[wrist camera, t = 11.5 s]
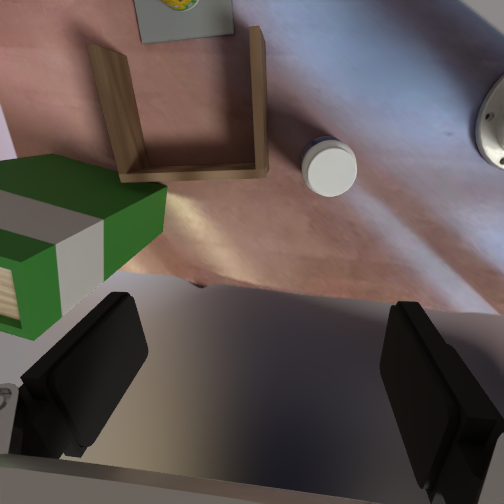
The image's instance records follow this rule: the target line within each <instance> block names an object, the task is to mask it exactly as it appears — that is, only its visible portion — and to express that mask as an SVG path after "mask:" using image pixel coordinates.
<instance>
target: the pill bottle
mask: <svg viewBox="0 0 504 504" xmlns="http://www.w3.org/2000/svg"><path fill="white" fill-rule="evenodd" d="M301 169H302V176H303V179H304V181H305V183H306V185H307V186H308V187H309V188H310V189H311V190H312V191H314V192H316V193H318V194H320V195H323V196H327V197H331V196H337V195H340V194H342V193H344V192H345V191H347V190H348V189H349V188H350V187H351V185H352V184H353V182H354V180H355V178H356V174H357V166H356V158H355V155H354V153H353V151H352V150H351V148H350V147H349V146H348V145H346V144H345V143H343V142H341V141H340V140H338V139H336V138H334V137H331V136H321V137H318V138H316V139H314V140H312V141H311V142H310V143H309V144H308V145H307V146H306V147H305V149H304V150H303V153H302V156H301Z"/></svg>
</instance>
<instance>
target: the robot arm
mask: <svg viewBox="0 0 504 504" xmlns="http://www.w3.org/2000/svg"><path fill="white" fill-rule="evenodd" d="M486 115H487V118H486V119H485V117H486ZM475 136H476V143H477V146H478V149H479V151H480V153H481V154H482V156H483V158H484V159H485V160H486V161H487V162H489V163H490V164H491V165H492V166H494V167H496V168H498V169H501V170H504V74H503V75H502V76H501V77H500V78H499V79H498V80H497V82H496V83H495V84H494V85H493V87H492V88H491V89H490V91H489V92H488V94H487V95H486V97H485V99H484V101H483V103H482V105H481V107H480V110H479V113H478V116H477V120H476V128H475ZM500 159H501V160H500ZM147 356H148V347H147V342H146V339H145V335H144V332H143V328H142V325H141V321H140V318H139V314H138V311H137V307H136V304H135V300H134V298H133V297H132V296H130V294H129V293H127V292H111V293H110V294H109V295H107V296H106V297H105V298H104V299H103V300H102V301H101V302H100V303H99V304H98V305H97V306H96V307H95V308H94V309H92V310H91V311H90V312H89V313H88V314H87V315H86V316H85V317H84V318H83V319H82V320H81V321H80V322H79V323H78V324H76V326H74V327H73V328H72V329H71V330H70V331H69V332H68V333H67V334H66V335H65V336H64V337H63V338H62V339H61V340H59V341H58V342H57V343H56V344H55V345H54V346H53V347H52V348H51V349H50V350H49V351H48V352H47V353H46V354H44V355H43V356H42V357H41V358H40V359H39V360H38V361H37V362H36V363H35V364H34V365H33V366H32V367H31V368H30V369H28V371H26V372H25V373H24V374H23V375H22V376H21V377H20V378H21V379H22V381H23V383H24V384H23V385H22V386H21V387H20V388H18V387H17V386H16V385H15V384H11V383H6V384H0V504H379V503H373V502H366V501H360V500H354V499H348V498H340V497H334V496H327V495H319V494H312V493H305V492H298V491H291V490H284V489H277V488H270V487H263V486H256V485H249V484H242V483H234V482H227V481H219V480H212V479H205V478H197V477H190V476H183V475H176V474H168V473H161V472H153V471H146V470H138V469H130V468H123V467H115V466H108V465H100V464H92V463H84V462H77V461H69V460H62V459H59V458H60V457H61V455H62V454H63V452H64V454H65V456H72V457H80V458H81V457H82V455H83V454H84V452H85V450H86V449H87V447H89V446H91V445H92V444H93V443H94V442H95V440H96V438H97V437H98V435H99V434H100V432H101V431H102V429H103V427H104V426H105V424H106V423H107V421H108V419H109V418H110V416H111V415H112V413H113V411H114V410H115V408H116V407H117V405H118V403H119V402H120V400H121V399H122V397H123V395H124V394H125V392H126V390H127V389H128V387H129V386H130V384H131V382H132V381H133V379H134V378H135V376H136V374H137V373H138V371H139V370H140V368H141V366H142V365H143V363H144V362H145V360H146V358H147ZM380 374H381V377H382V380H383V383H384V386H385V389H386V392H387V395H388V398H389V401H390V404H391V407H392V409H393V413H394V416H395V418H396V421H397V425H398V427H399V431H400V433H401V436H402V439H403V442H404V445H405V448H406V451H407V454H408V457H409V460H410V463H411V466H412V469H413V472H414V475H415V478H416V481H417V483H418V485H419V487H420V488H421V489H426V491H427V494H428V497H429V500H430V503H431V504H504V419H503V417H502V416H501V415H500V413H499V412H498V410H497V409H496V407H495V406H494V404H493V403H492V402H491V400H490V399H489V397H488V396H487V394H486V393H485V392H484V390H483V389H482V387H481V386H480V384H479V383H478V382H477V380H476V379H475V377H474V376H473V374H472V373H471V372H470V370H469V369H468V367H467V366H466V364H465V363H464V362H463V360H462V359H461V357H460V356H459V354H458V353H457V352H456V350H455V349H454V348H453V347H452V346H451V345H449V344H446V342H445V341H444V339H443V338H442V337H441V335H440V333H439V332H438V330H437V329H436V327H435V326H434V324H433V323H432V322H431V320H430V319H429V317H428V316H427V314H426V313H425V311H424V310H423V308H422V307H421V305H420V304H419V303H418V302H409V301H398V302H397V304H396V305H392V306H391V308H390V313H389V318H388V323H387V328H386V334H385V339H384V344H383V349H382V355H381V360H380Z"/></svg>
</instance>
